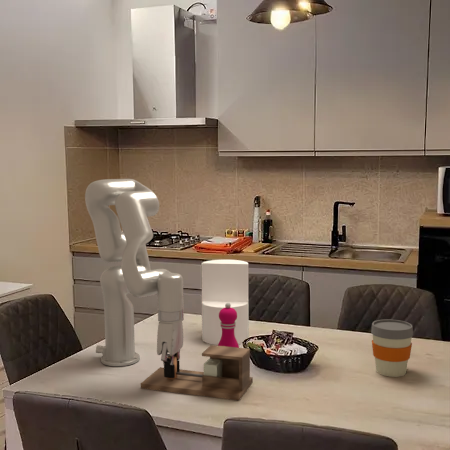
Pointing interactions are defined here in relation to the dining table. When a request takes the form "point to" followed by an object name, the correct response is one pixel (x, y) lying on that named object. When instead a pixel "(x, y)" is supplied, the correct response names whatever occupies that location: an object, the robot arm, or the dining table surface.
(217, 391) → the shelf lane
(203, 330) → the cylinder
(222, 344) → the pepper mill
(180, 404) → the dining table surface
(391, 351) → the reusable coffee cup
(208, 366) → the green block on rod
